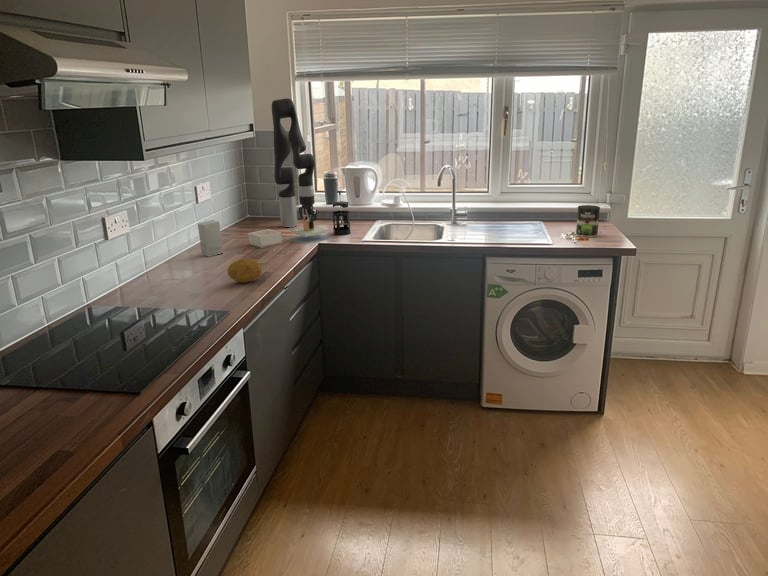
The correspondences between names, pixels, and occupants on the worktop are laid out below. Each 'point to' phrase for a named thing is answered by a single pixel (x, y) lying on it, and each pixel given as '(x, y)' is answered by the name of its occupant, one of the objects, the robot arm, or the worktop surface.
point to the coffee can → (587, 221)
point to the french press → (346, 219)
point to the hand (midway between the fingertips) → (309, 228)
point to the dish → (265, 238)
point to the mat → (309, 239)
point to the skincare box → (210, 238)
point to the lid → (308, 230)
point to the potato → (244, 270)
